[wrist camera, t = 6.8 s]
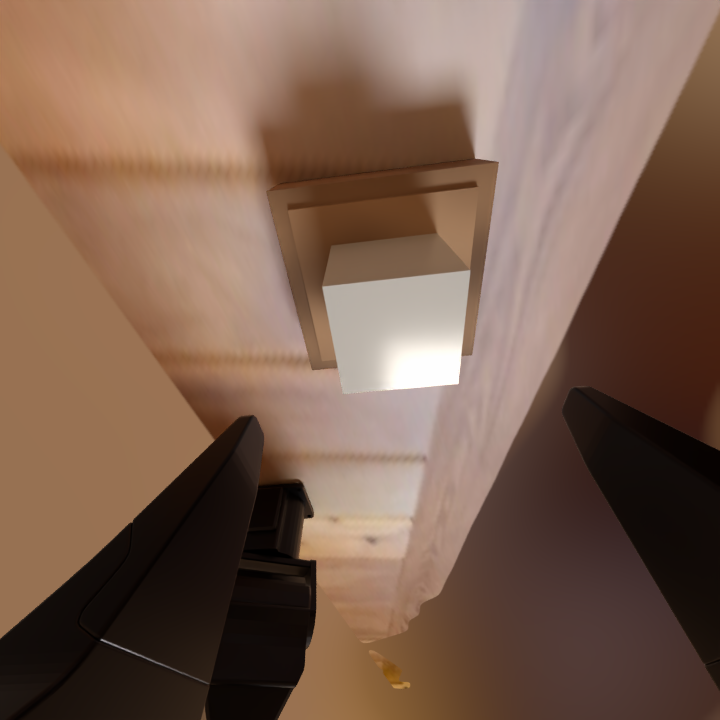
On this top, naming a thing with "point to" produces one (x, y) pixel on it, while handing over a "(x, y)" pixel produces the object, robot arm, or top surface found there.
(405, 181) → the walnut plinth
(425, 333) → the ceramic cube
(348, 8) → the top surface
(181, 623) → the robot arm
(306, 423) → the top surface
